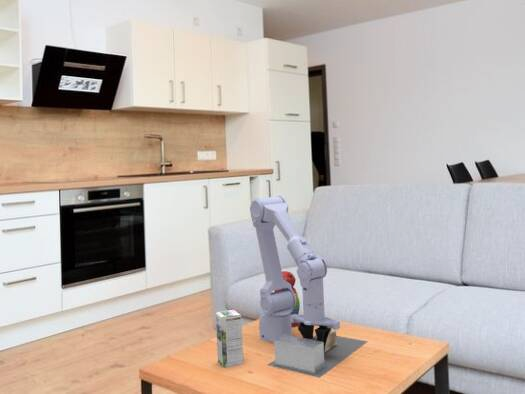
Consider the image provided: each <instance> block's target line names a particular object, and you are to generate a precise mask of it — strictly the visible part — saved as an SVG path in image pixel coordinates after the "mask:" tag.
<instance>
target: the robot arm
mask: <svg viewBox="0 0 525 394" xmlns="http://www.w3.org/2000/svg"><path fill="white" fill-rule="evenodd" d="M249 211H250V217H251V221H252V222H251V223H252V226H253V227H254V228H255V232H256V237H257V241H258V248H259V251H260V257H261V261H262V266H263V267H262V268H263V271H264V277H265V284H264V285H263V286H262V288H261V289H260V290H259V295H260V299H259V300H260V301H259V303H260V309H261V311H262V313H261V315H259V319H258V320H259V321H258V322H259V323H258V324H259V326H258V327H259V339H260V340H263V341H266V342H267V341H268V342H270V343H273V344H274V340H275V339H277V338H279V337H281V336H283V335H290V336H293V331H292V330H293V327H292V325H291V323H294V322H297V323H300V325H299V326H297V330H298V332H299V333H300V334H301V338H306V339H311V338H313V337H314V332H315V335H316V336H317V341H322V342H323V345H324V351H325V345H326V341H327V338H328V335H329V333H330V331H331V330H334V331H338V330H339V329H340V328H341V324H340V323H341V321H340V320H337V319H333V318H331V317H326V315H325V295H324V291H325V290H324V278H325V277H326V276H327V274H328V273H327V272H328V266H327V263H326V261H325V259H324V258H323V257H321V256H319V255H318V254H316V253H315V252H314V251H313V249H312V248H311V246H310V244H309V243H308V241H307V239H306V238H305V237H304V236H300V235H299V234H298V232H297V230H296V227H295V225H294V223H293V222H292V220H291V218H290V216H289V205H288V204H287V201H286V199H285V198H284V196H282V195H277V196H272V197H271V196H270V197H260V198H258V197H257V198H254V199H253V200H252V202H251V204H250V207H249ZM275 226H276V227H277V228H278V230H279V231H280V232H281V234H282V236H283V237H284V239H286V241H287V245H286V246H287V247H286V248H287V250H288V252H289V253H290V255H291V257H292V259H293V261H294V262H295V264H296V266H297V269H296V274H297V276H298V279H299V285H300V287H301V289H302V306H303V307H302V308H303V314H300V313H299V314H293V315H291V312H293V308H295V306H296V296H295V294H294V292H293V290H292V286H291V284H290V283H288V282H287V281H285V280H284V279H283V275H282V272H283V271H282V267H281V261H280V256H279V252H278V247H277V242H276V237H275V232H274V229H275ZM279 289H280V290H281V291H277V292H274V291H275V290H279ZM315 327H317V328H316V329H315Z"/></svg>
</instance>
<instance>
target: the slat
mask: <svg viewBox="0 0 525 394" xmlns="http://www.w3.org/2000/svg"><path fill="white" fill-rule="evenodd" d="M314 336H315V335H314ZM314 336H313V338H311V340H316V341H317V336H315V337H314ZM336 336H337V330H333V329H331V331H330V333H329V335H328V338H327V341H326V345H325V351H324V353H325V352H326V351H328V350H329V349H331V348H332V347H333V346H335V345H336V344H337V342H336Z"/></svg>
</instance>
